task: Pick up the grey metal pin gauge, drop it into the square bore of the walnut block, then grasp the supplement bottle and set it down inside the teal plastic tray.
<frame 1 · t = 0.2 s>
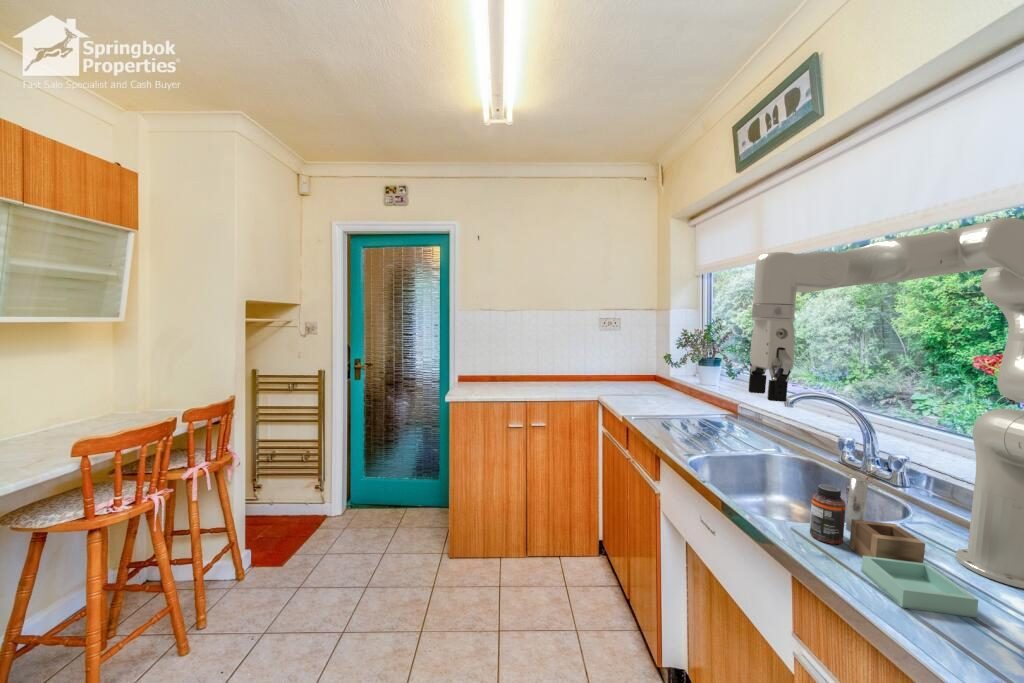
hand: (766, 396, 89), 31 cm above the counter, fingers open, 9 cm apart
tray: (914, 592, 76), on the counter
supplement bottle: (825, 539, 94), on the counter
pin gauge: (854, 530, 99), on the counter
bore block: (883, 560, 86), on the counter
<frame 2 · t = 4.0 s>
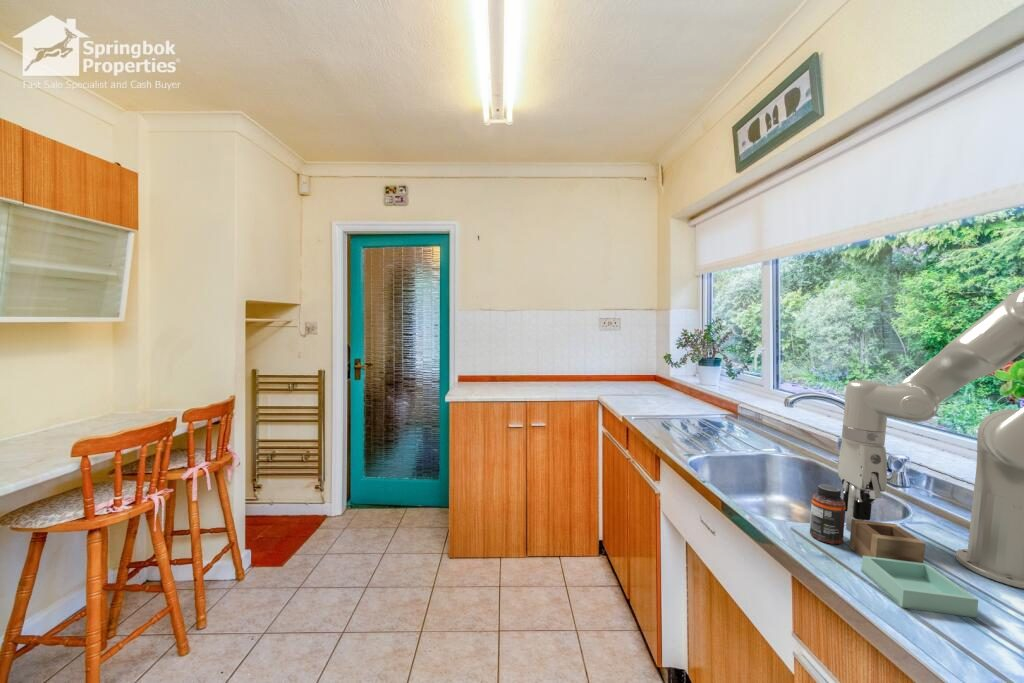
hand: (855, 514, 98), 4 cm above the counter, fingers closed on pin gauge, 3 cm apart
pin gauge: (854, 530, 99), on the counter, touching gripper
everything else where it was.
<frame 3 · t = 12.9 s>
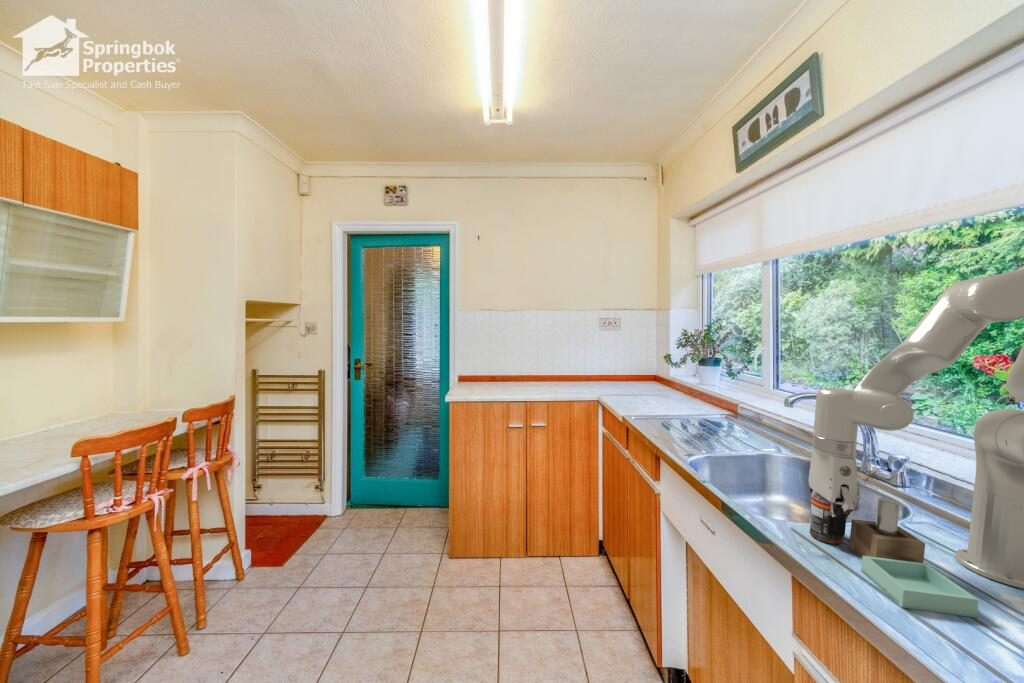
hand: (826, 526, 94), 3 cm above the counter, fingers closed on supplement bottle, 6 cm apart
supplement bottle: (825, 539, 94), on the counter, touching gripper
pin gauge: (883, 560, 86), resting in bore block
when the fingers open (5 cm above the counter, at t = 19.3 s): supplement bottle drops 1 cm, resting on tray.
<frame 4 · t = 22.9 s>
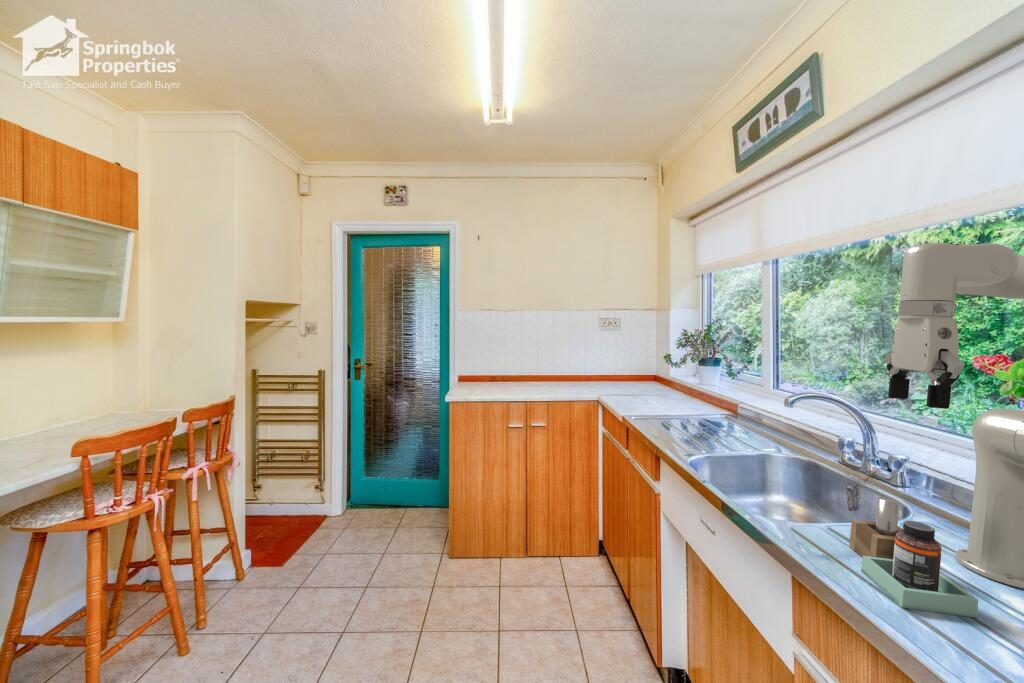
hand: (916, 402, 81), 32 cm above the counter, fingers open, 9 cm apart
supplement bottle: (913, 589, 76), resting on tray
everything else where it was.
at the end: supplement bottle 0.2 cm off-centre on the tray, point 0.4 cm above the tray's base; supplement bottle tilted 0°; pin gauge 0.0 cm off-centre on the bore block, point 0.0 cm above the bore block's base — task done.
